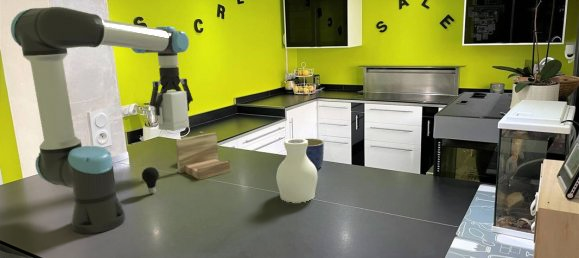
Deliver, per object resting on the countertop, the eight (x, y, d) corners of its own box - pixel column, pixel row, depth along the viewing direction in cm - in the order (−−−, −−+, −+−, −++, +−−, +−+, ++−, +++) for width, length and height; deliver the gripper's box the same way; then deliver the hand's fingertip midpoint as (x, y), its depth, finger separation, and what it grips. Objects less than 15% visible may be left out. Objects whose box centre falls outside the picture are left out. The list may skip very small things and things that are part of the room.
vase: (292, 186, 159) (290, 134, 155) (325, 194, 151) (325, 138, 147) (268, 199, 148) (266, 143, 144) (303, 207, 140) (301, 148, 136)
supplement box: (190, 126, 178) (187, 90, 174) (174, 131, 170) (170, 93, 167) (174, 125, 182) (171, 89, 179) (157, 129, 175) (154, 92, 171)
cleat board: (234, 170, 180) (232, 138, 177) (194, 180, 169) (192, 146, 166) (216, 163, 191) (214, 132, 188) (178, 172, 180) (175, 139, 177)
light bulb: (163, 193, 157) (161, 167, 154) (149, 198, 152) (146, 171, 150) (155, 189, 160) (152, 164, 158) (140, 194, 156) (137, 167, 154)
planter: (305, 161, 190) (304, 137, 188) (329, 165, 183) (329, 140, 181) (288, 168, 181) (288, 143, 178) (313, 173, 173) (313, 147, 171)
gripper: (190, 64, 181) (194, 115, 186) (136, 68, 166) (142, 124, 171) (199, 64, 175) (203, 118, 180) (144, 69, 161) (150, 127, 166)
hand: (173, 121), depth 176 cm, fingers closed on supplement box, 10 cm apart
